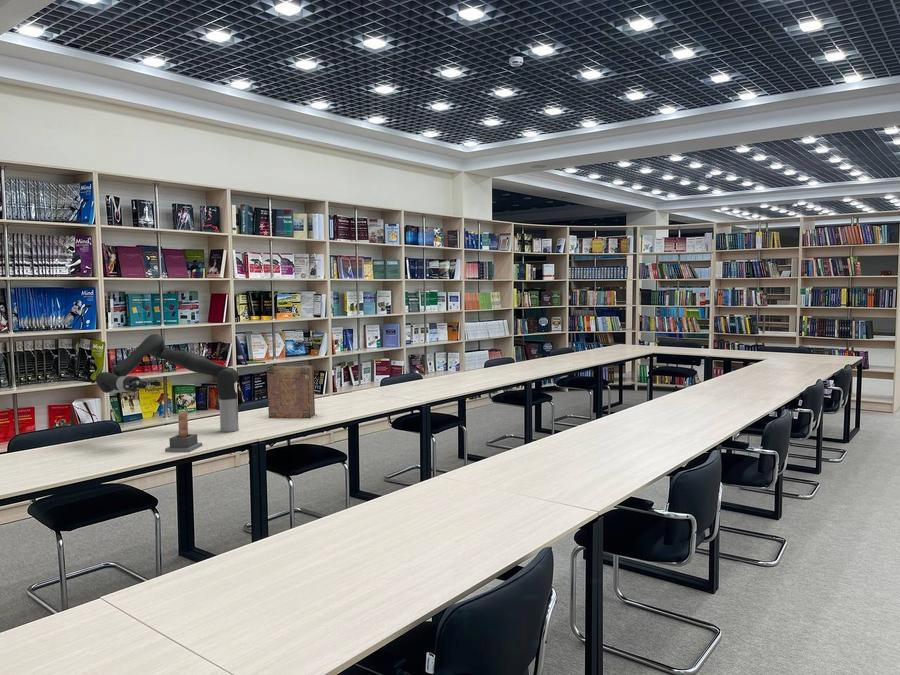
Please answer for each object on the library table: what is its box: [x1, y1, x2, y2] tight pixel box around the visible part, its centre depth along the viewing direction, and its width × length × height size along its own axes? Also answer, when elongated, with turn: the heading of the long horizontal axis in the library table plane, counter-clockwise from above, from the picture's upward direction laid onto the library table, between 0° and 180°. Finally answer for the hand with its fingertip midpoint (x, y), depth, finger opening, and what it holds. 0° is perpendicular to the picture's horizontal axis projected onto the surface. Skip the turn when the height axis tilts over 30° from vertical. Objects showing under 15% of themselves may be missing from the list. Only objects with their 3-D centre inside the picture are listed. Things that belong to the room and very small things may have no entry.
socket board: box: [164, 433, 203, 453], centre depth 303 cm, size 12×12×6 cm
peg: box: [177, 410, 189, 438], centre depth 302 cm, size 4×4×16 cm
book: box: [266, 364, 316, 419], centre depth 377 cm, size 25×9×30 cm, turn 82°
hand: (152, 385), depth 306 cm, fingers open, 8 cm apart
